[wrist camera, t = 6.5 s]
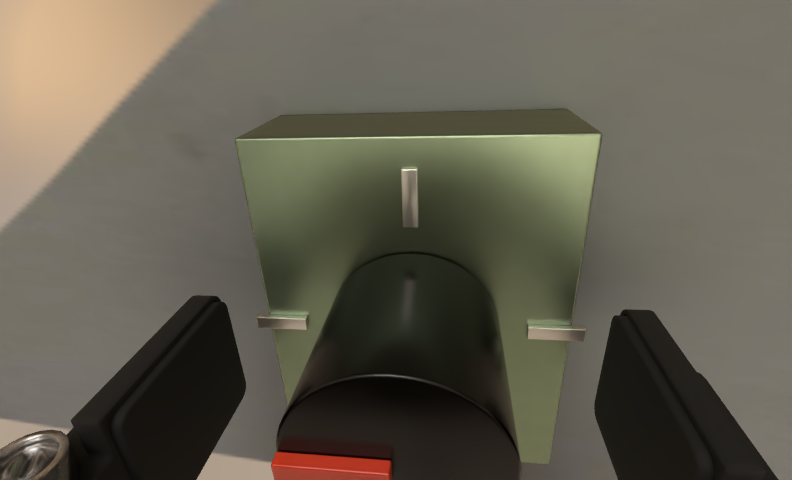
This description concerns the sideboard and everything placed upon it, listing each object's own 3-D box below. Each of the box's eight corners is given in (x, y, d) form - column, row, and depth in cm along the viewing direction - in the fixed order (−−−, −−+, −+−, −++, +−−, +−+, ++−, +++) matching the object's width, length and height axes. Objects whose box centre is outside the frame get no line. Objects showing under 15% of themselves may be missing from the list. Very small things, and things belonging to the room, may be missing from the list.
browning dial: (504, 253, 10) (537, 398, 6) (494, 393, 12) (513, 573, 8) (323, 250, 11) (247, 381, 7) (340, 385, 13) (287, 549, 9)
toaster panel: (541, 392, 16) (561, 471, 13) (312, 379, 17) (284, 449, 14) (581, 108, 12) (622, 134, 9) (269, 115, 13) (217, 140, 10)
